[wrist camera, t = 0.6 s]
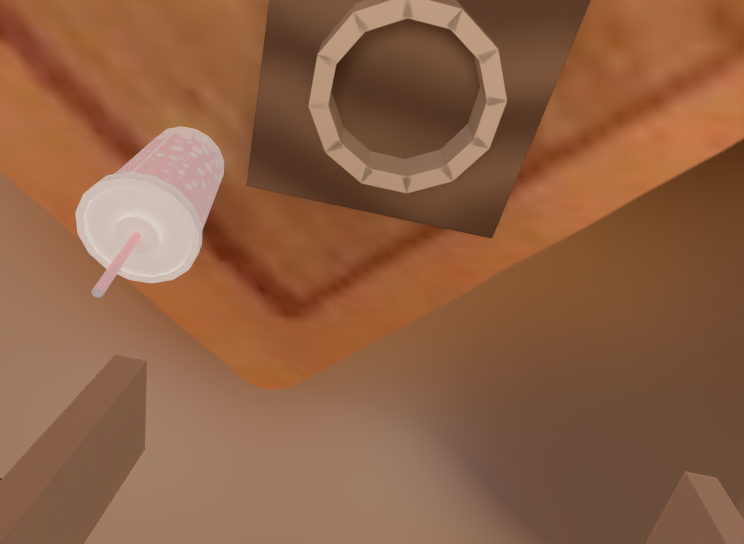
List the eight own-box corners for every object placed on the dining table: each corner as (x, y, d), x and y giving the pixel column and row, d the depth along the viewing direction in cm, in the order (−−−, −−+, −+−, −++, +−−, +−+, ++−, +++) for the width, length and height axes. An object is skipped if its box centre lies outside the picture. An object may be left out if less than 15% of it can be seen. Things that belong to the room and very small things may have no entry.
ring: (334, -33, 28) (331, -26, 26) (523, 17, 30) (534, 27, 28) (302, 152, 34) (297, 169, 32) (462, 187, 35) (467, 206, 33)
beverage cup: (150, 204, 38) (48, 346, 26) (128, 113, 34) (-1, 230, 23) (242, 205, 38) (181, 347, 26) (229, 114, 34) (152, 231, 23)
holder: (288, -120, 28) (284, -120, 26) (593, -34, 30) (602, -31, 28) (251, 175, 36) (246, 185, 35) (488, 226, 38) (491, 238, 37)
